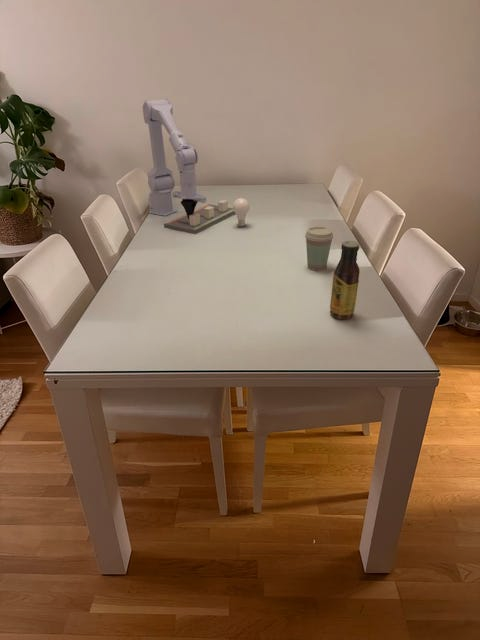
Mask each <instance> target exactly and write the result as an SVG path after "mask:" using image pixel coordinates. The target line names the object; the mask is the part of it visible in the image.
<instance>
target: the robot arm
mask: <svg viewBox="0 0 480 640" xmlns="http://www.w3.org/2000/svg"><path fill="white" fill-rule="evenodd" d="M173 110H174V109H173V104H172V101H171V100H170V99H169V98H164V99H152V100H148V99H147V100H144V102H143V105H142V113H143V119H144V123H145V124H147V126H148V133H149V139H150V147H151V154H152V155H151V156H152V161H153V168H152V169H151V170H150V171H149V172H148V174H147V175H148V179H147V185H148V188H149V190H150V191H149V193H148V205H149V211H148V213H149V214H154V215H158V216H164V217H166V216H169V215H171V214H174V213H175V212H178V209H174V207H173V199H175V198H178V199H181V201H180V204H181V205H182V207H183V209H184V212H185V214H187V217H188V219H189V215H192V214H194V210H196V206H197V205H198V202H199V203H201V204H204V203H207V196H204V195H201V194H199V193H197V180H196V177H197V175H196V164H197V163H198V159H199V156H198V152H197V150H196V148H195V147H193V146H192V145H190V144H189V141H187V138H186V136H185V134H184V133H183V132H182V131H179V128H178V126H177V124H176V122H175V119H174V116H173V114H174V112H173ZM162 126H163V127H164V129H165V130H166V132H167V133H168V135H169V137H168V141H169V143H170V145H171V147H172V149H173V151H174V153H175V162H176V165H177V169H178V171H179V180H180V181H179V183H180V191H173V190H174V188H175V186H176V181H175V180H176V179H175V177H174V175H173V174H174V173H173V171H172V170H171V169H170V168H168V167H167V162H166V154H165V146H164V145H165V144H164V137H163V129H162ZM172 198H173V199H172Z"/></svg>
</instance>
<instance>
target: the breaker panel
mask: <svg viewBox="0 0 480 640" xmlns="http://www.w3.org/2000/svg"><path fill="white" fill-rule="evenodd" d="M208 206H211V207H214V217H212V218H210V219H208V218H204V208H206V207H208ZM194 213H197V214H200V224H199V225H197V226H191V225H190V219H188V217H187V214H186V213H185V214H183V215H181V216H179V217H176V218H174V219H172V220H169V221H167V222H165V223H163V225H164V226H163V227H164V228H165V229H170V230H174V231H179V232H183V233H188V234H192V235H196V234H199V233H200V232H202V231H204V230H206V229H208V228H210V227H213V226H214V225H216V224H218V223H221V222H222V221H224V220H226V219H228V218H230V217H232V216H234V215H236V213H235V212H234V210H233V207H228V210H227V211H224V212H220V211H218V205H217V204H215V205H214V204H211V203H208V204H206V205H204V206H202V207H201V206H200V208H197V209H194Z"/></svg>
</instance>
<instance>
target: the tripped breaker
mask: <svg viewBox="0 0 480 640" xmlns="http://www.w3.org/2000/svg"><path fill="white" fill-rule="evenodd" d="M189 219H190V225H191V226H197V225H199V224H200V214H197V213H194V214H192V215H189Z"/></svg>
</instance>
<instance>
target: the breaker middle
mask: <svg viewBox="0 0 480 640" xmlns="http://www.w3.org/2000/svg"><path fill="white" fill-rule="evenodd" d="M212 217H214V207H211V206H208V207H206V208H204V218H208V219H210V218H212Z"/></svg>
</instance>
